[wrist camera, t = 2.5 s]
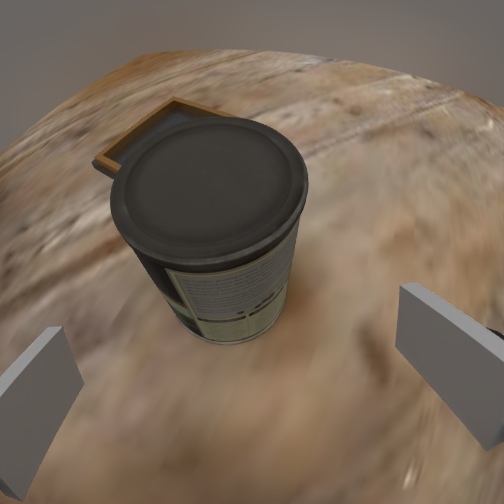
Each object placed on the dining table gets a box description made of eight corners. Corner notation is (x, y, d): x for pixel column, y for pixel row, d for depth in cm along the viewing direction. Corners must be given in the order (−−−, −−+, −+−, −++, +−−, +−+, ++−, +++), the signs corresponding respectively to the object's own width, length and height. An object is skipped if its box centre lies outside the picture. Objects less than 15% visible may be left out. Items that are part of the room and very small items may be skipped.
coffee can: (151, 321, 26) (73, 227, 14) (198, 227, 31) (169, 106, 19) (265, 363, 24) (272, 295, 12) (301, 257, 29) (325, 134, 17)
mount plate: (94, 167, 36) (88, 155, 35) (171, 106, 43) (168, 94, 41) (188, 223, 31) (184, 209, 29) (269, 141, 38) (269, 127, 36)
